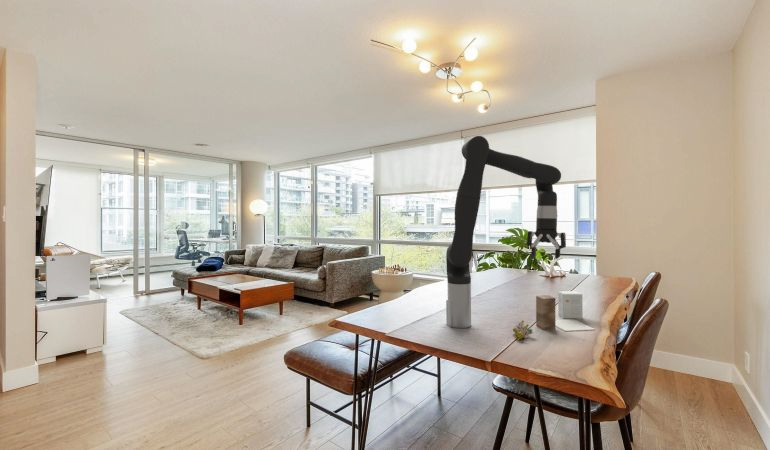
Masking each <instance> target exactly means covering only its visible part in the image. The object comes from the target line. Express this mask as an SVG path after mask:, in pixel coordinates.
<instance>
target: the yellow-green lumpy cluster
mask: <svg viewBox="0 0 770 450" xmlns="http://www.w3.org/2000/svg"><path fill="white" fill-rule="evenodd" d="M524 322H525V321H524V320H521V321H520V322H518V324H516V325H514V327H513V328H512V331H513V332H514V335H515V336H514V339H517V341H519V340H523V338H524V339H527V338H528V336H529V335H532V334H533V333H534V332H533V330H534V329H532V328H529V324H526V325H525V324H524Z"/></svg>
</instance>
